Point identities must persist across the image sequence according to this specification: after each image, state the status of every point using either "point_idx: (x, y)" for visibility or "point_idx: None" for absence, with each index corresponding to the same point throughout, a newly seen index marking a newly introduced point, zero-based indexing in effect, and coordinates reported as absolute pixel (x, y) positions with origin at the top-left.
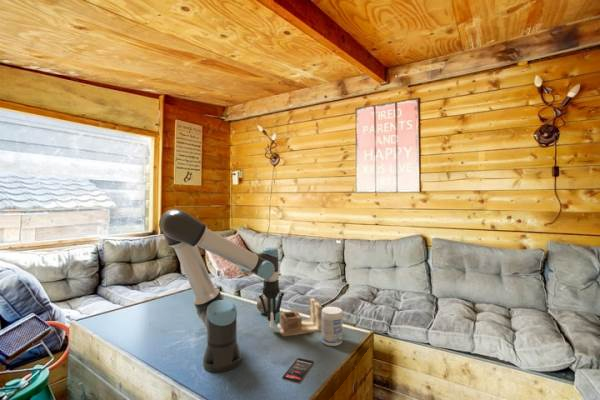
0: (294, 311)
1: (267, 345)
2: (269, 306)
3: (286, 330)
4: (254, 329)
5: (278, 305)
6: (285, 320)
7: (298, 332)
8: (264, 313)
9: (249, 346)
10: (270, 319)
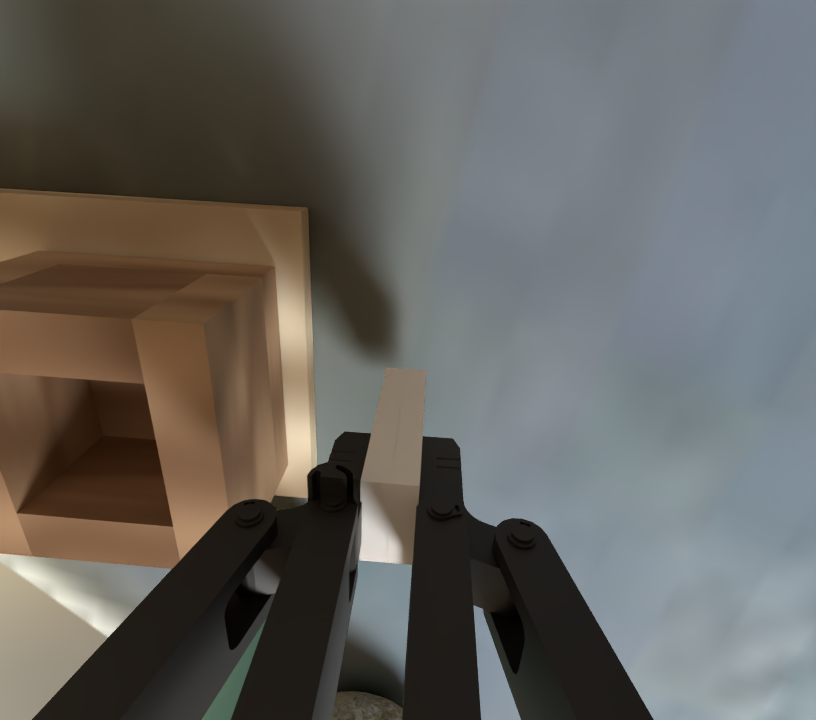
0: (9, 538)
1: (569, 28)
2: (436, 657)
3: (234, 267)
4: (568, 484)
5: (178, 633)
6: (180, 316)
7: (89, 197)
8: (386, 699)
9: (805, 97)
10: (422, 443)
